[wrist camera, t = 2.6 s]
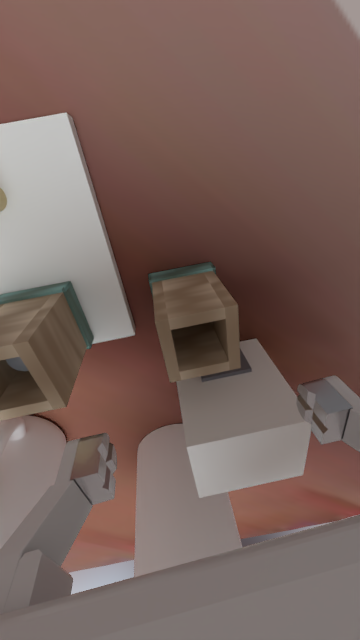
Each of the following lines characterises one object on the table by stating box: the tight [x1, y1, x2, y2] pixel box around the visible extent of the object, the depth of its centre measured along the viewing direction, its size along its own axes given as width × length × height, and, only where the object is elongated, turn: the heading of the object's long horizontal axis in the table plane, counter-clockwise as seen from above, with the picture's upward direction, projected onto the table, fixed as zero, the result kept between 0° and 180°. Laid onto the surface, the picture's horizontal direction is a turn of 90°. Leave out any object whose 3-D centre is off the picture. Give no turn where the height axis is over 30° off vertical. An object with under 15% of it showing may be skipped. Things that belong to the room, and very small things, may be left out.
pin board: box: [0, 113, 136, 371], centre depth 14 cm, size 11×14×6 cm
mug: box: [0, 415, 66, 549], centre depth 21 cm, size 12×8×10 cm
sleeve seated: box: [0, 281, 94, 421], centre depth 15 cm, size 5×5×7 cm
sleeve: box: [148, 262, 241, 383], centre depth 17 cm, size 5×5×7 cm
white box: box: [176, 339, 311, 498], centre depth 21 cm, size 8×7×9 cm
